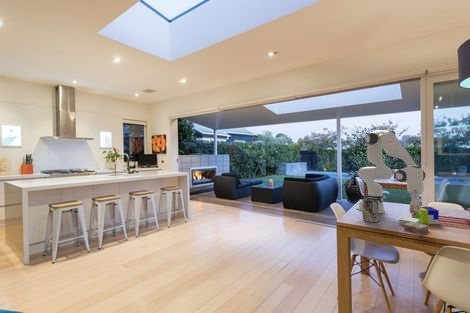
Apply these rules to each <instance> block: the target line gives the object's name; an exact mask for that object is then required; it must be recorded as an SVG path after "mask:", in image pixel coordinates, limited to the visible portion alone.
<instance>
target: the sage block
mask: <svg viewBox="0 0 470 313" xmlns="http://www.w3.org/2000/svg"><path fill="white" fill-rule="evenodd" d="M398 220H399V225H401V226H403V224H406V223H409V222H415V223H419V224H421V223H420V219H416V218H415V217H410V216H402V217H400V218H399V219H398Z"/></svg>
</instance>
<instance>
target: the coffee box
mask: <svg viewBox="0 0 470 313" xmlns="http://www.w3.org/2000/svg"><path fill="white" fill-rule="evenodd" d="M362 201H363V211H362V220H363V219H364V220H363V221H365V220H366V221H365V222H368V221H369V223H371V222H372V224H374V223H373V222H375V223H379V213H378V201H375V200H371V199H366V198H365V199H362Z"/></svg>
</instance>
